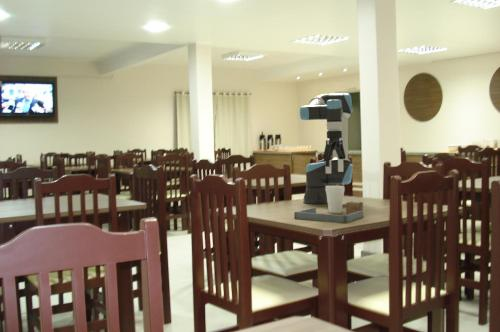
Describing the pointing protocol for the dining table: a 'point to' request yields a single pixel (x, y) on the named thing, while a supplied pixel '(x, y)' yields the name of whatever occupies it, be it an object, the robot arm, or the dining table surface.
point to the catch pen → (326, 216)
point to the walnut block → (353, 207)
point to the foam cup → (335, 198)
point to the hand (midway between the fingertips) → (334, 172)
